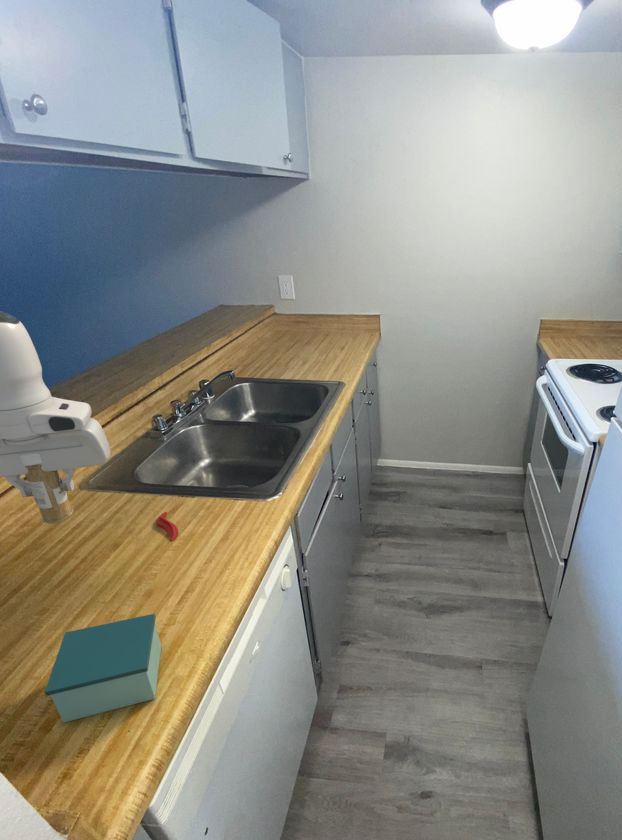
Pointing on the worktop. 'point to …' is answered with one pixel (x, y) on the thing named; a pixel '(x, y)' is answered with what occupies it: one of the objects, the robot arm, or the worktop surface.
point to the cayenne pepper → (167, 526)
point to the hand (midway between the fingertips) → (49, 492)
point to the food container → (105, 668)
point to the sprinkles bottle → (46, 490)
